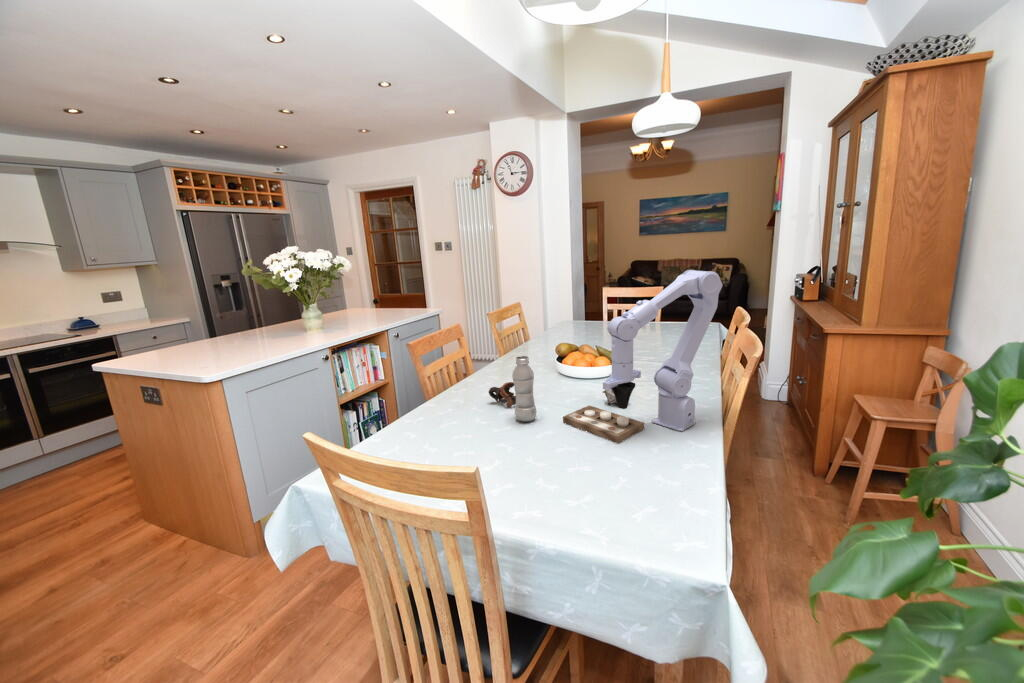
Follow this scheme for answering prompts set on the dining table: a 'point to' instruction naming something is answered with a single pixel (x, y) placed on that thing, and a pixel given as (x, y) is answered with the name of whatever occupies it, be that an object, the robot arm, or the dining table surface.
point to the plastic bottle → (524, 390)
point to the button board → (603, 424)
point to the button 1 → (589, 412)
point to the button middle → (605, 416)
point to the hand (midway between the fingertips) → (622, 407)
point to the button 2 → (622, 422)
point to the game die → (610, 396)
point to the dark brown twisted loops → (504, 393)
